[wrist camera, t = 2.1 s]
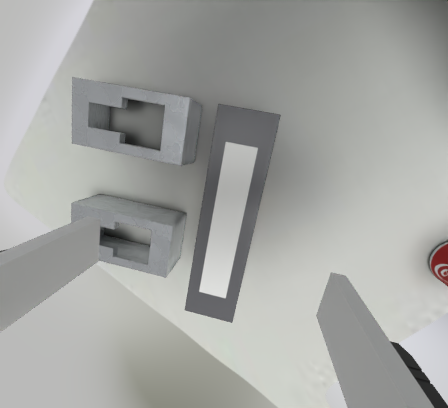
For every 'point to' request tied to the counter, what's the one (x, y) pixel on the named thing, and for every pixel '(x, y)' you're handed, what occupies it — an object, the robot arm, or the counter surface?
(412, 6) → the counter surface
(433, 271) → the soda can
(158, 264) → the keyhole plates
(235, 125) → the grey long block
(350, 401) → the robot arm
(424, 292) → the counter surface
